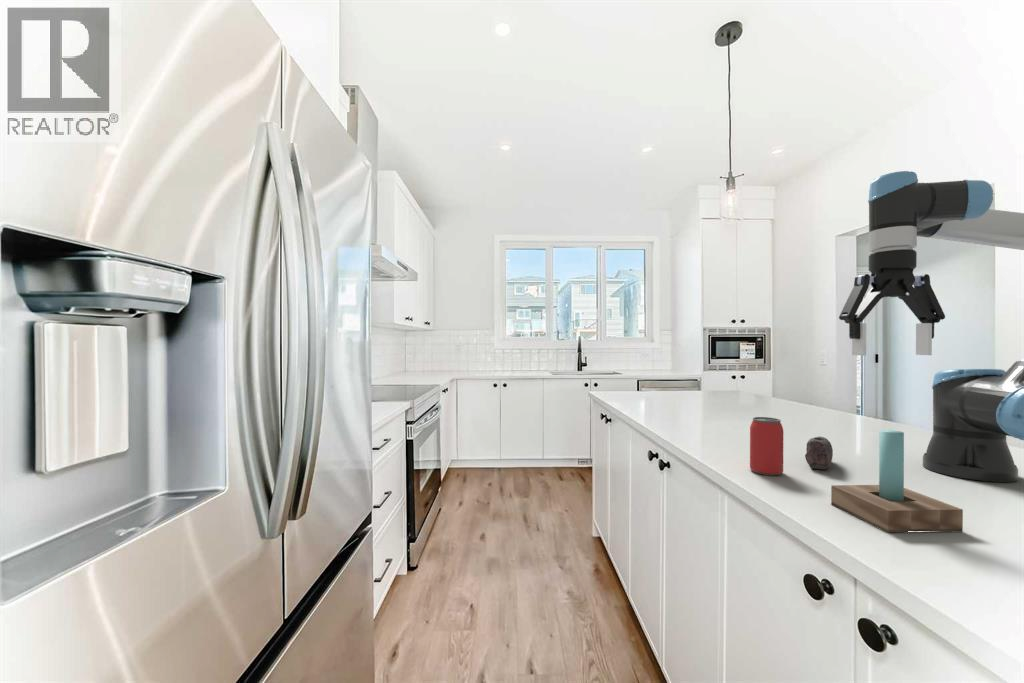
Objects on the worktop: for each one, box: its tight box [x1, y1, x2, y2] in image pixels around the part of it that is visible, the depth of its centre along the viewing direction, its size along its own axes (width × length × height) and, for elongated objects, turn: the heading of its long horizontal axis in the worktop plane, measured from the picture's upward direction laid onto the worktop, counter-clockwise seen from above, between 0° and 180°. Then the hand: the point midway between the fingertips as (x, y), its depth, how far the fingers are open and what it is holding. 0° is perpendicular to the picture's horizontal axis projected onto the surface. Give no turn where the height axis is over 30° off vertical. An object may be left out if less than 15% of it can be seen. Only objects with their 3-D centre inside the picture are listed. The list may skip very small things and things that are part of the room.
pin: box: [878, 429, 905, 502], centre depth 77 cm, size 3×3×14 cm
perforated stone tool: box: [804, 436, 834, 470], centre depth 108 cm, size 15×5×7 cm, turn 141°
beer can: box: [749, 416, 784, 477], centre depth 103 cm, size 7×7×12 cm
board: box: [830, 484, 964, 533], centre depth 77 cm, size 12×12×4 cm
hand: (891, 355), depth 93 cm, fingers open, 13 cm apart
